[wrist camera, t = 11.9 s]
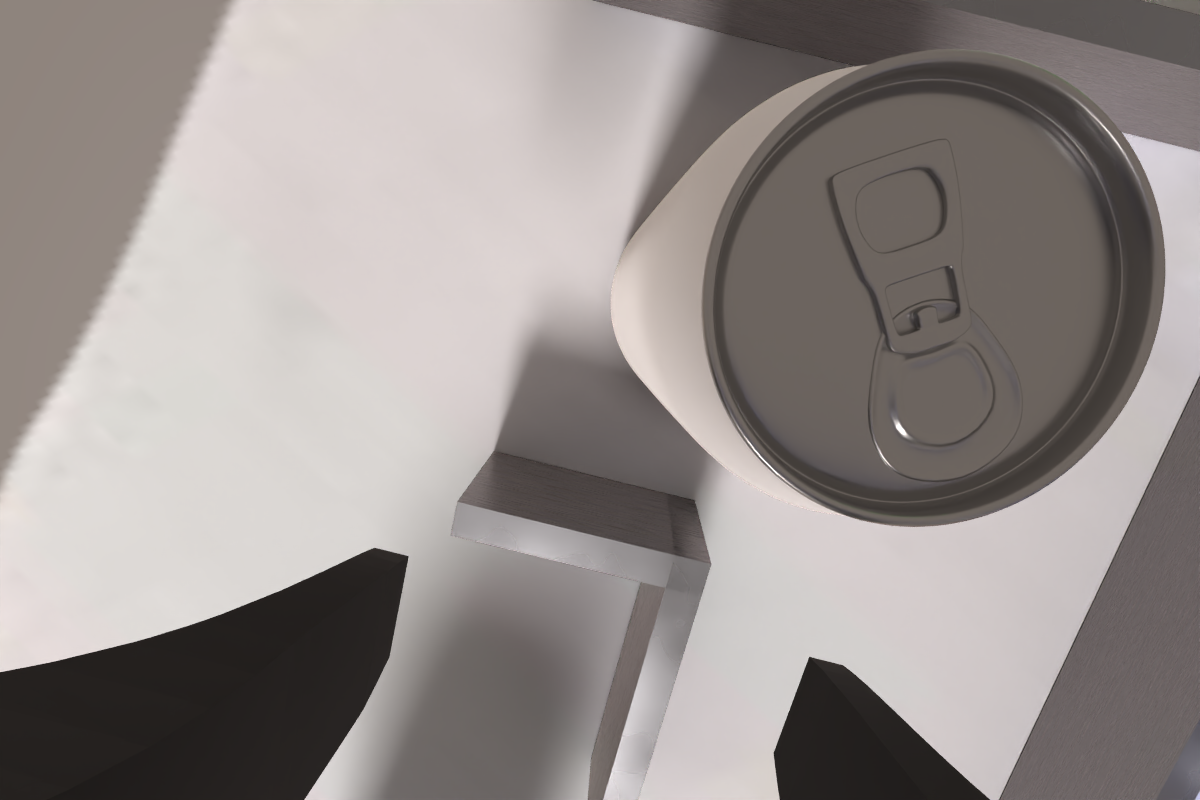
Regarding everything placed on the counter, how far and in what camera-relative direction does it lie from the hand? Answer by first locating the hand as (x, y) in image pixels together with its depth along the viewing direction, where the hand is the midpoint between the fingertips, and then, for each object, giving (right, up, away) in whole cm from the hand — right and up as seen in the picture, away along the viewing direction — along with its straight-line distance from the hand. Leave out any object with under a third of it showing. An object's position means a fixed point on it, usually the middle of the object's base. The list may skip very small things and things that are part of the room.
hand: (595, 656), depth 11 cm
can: (+4, +7, +9) cm, 12 cm away
